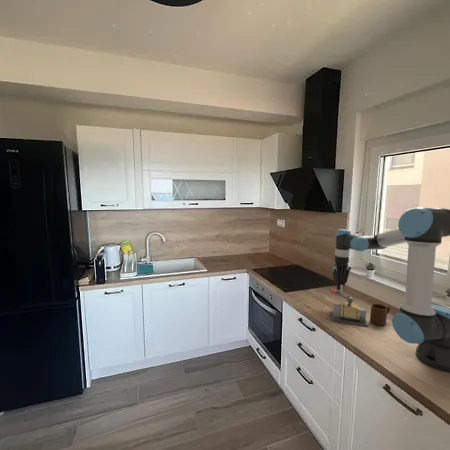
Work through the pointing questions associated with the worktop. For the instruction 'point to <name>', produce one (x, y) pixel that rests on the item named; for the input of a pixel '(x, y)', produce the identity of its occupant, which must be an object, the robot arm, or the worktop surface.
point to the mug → (379, 314)
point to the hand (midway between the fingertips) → (339, 294)
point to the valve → (349, 314)
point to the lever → (342, 295)
